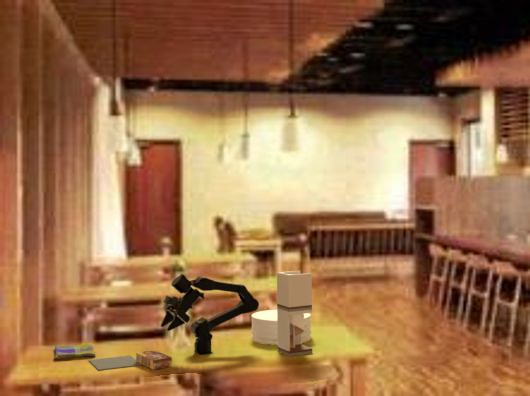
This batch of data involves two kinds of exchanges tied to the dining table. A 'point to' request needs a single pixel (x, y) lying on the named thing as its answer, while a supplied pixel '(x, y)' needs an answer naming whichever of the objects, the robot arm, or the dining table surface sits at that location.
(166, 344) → the dining table surface
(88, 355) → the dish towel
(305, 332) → the plate stack
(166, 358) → the candy box
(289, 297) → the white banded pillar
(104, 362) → the mat
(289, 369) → the dining table surface
